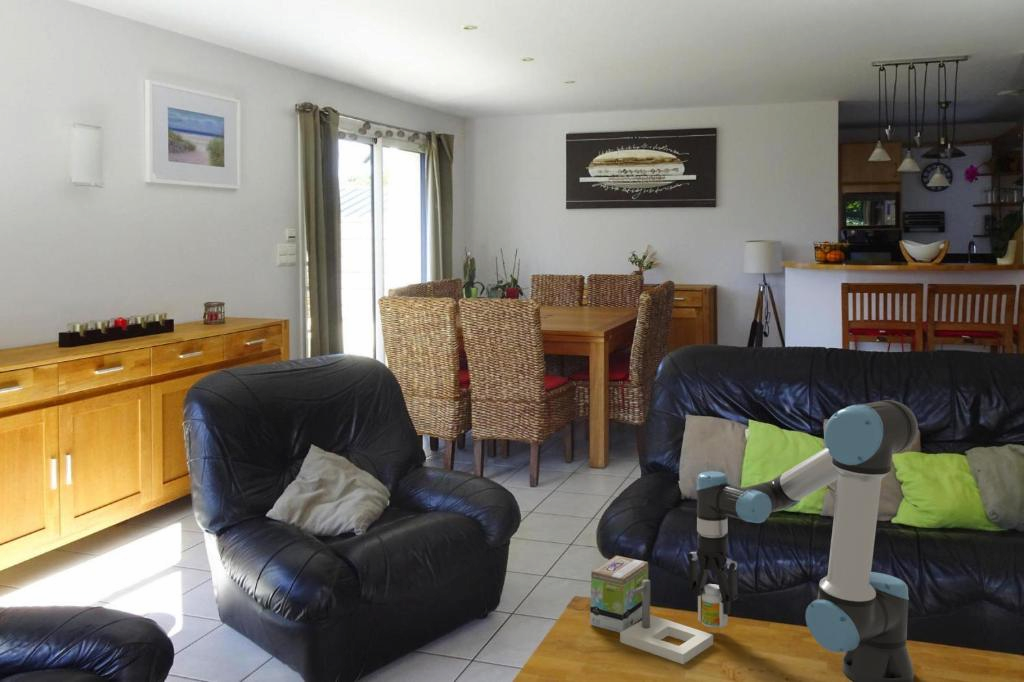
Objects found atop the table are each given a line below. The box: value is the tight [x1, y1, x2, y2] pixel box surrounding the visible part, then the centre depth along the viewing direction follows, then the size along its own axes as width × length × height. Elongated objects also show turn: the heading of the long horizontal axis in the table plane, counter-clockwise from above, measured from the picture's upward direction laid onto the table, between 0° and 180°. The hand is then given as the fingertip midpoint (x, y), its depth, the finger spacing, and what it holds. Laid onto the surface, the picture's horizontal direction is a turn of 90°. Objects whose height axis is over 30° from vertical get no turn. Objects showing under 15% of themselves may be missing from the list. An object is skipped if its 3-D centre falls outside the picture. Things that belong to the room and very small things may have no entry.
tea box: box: [589, 555, 649, 633], centre depth 233 cm, size 15×10×15 cm, turn 147°
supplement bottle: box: [701, 583, 722, 628], centre depth 224 cm, size 5×5×10 cm
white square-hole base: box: [619, 579, 714, 665], centre depth 218 cm, size 18×14×14 cm
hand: (712, 622), depth 224 cm, fingers closed on supplement bottle, 5 cm apart
